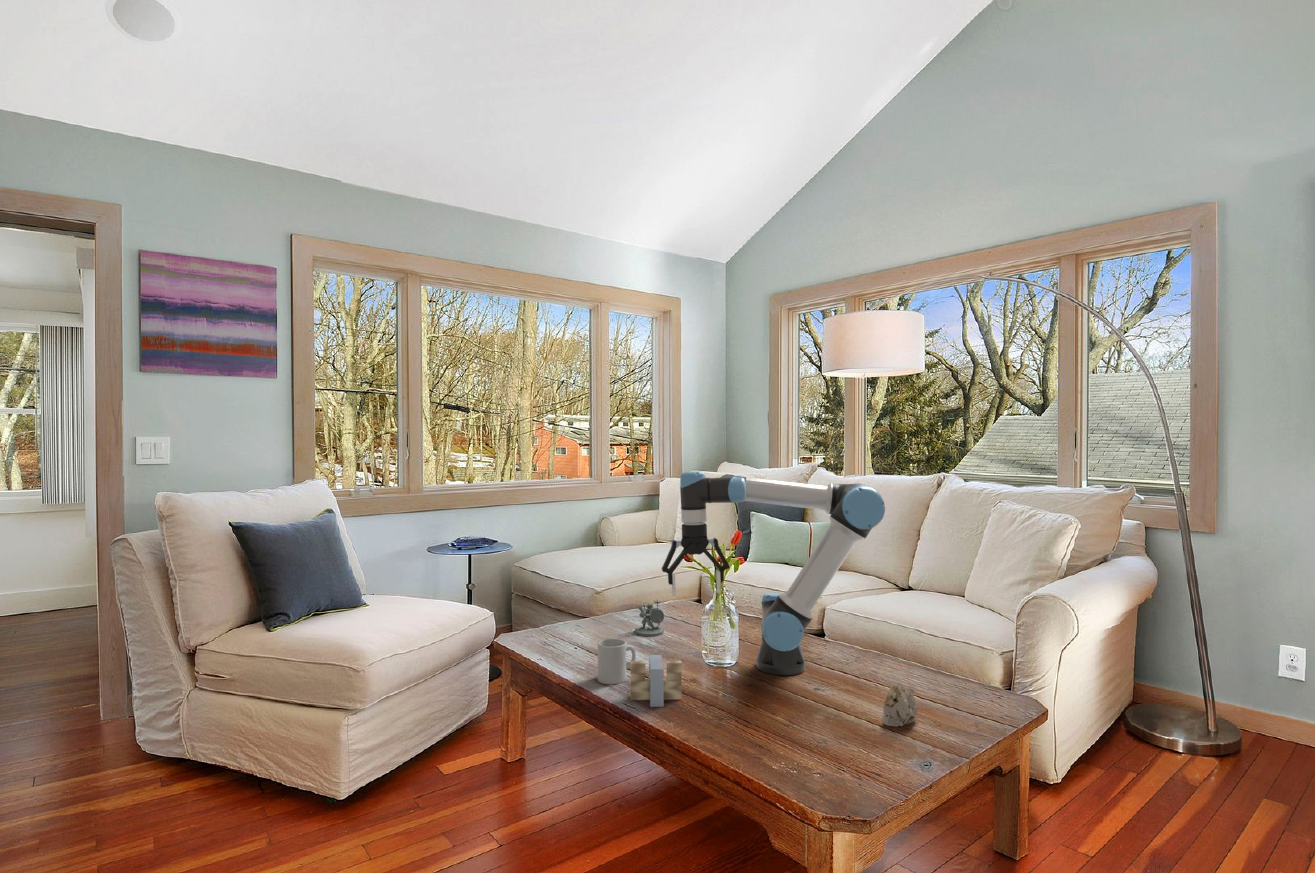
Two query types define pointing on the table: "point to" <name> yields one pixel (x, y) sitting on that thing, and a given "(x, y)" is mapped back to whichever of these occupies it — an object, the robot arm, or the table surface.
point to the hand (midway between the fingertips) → (696, 594)
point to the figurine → (650, 620)
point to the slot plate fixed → (642, 685)
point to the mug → (613, 660)
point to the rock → (899, 706)
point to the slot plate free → (656, 681)
